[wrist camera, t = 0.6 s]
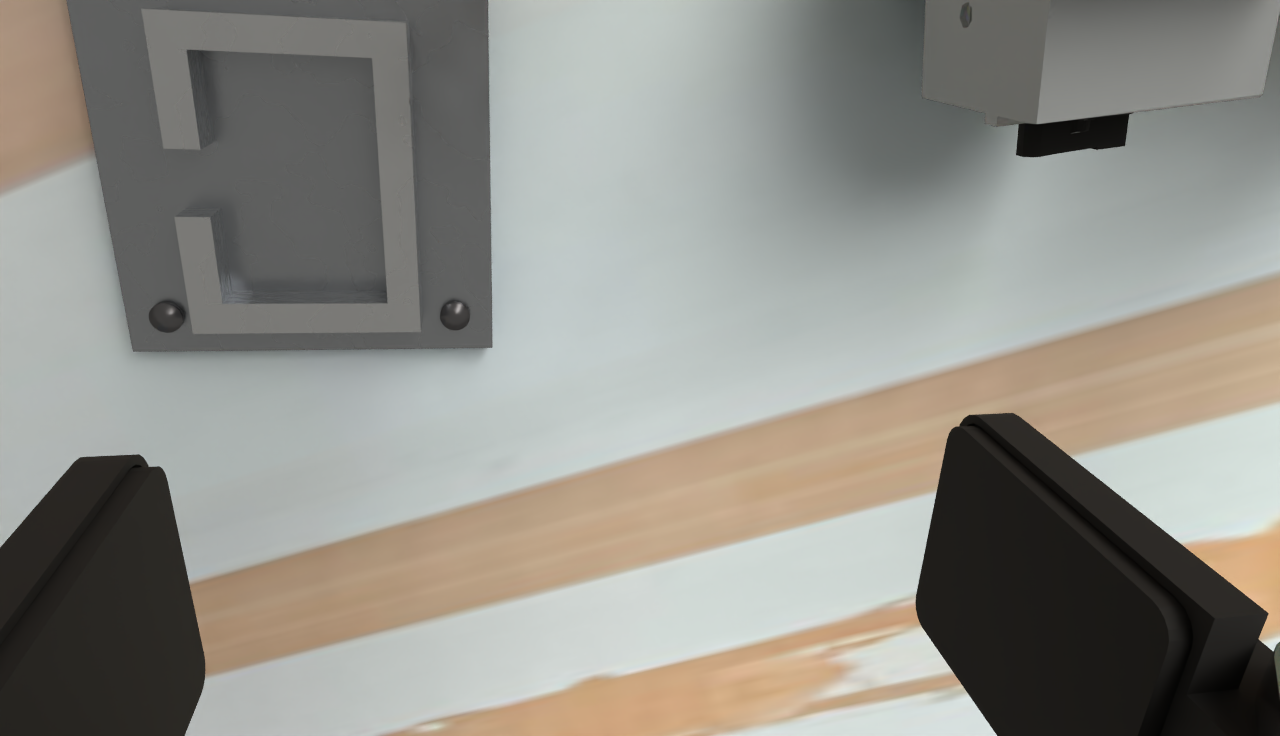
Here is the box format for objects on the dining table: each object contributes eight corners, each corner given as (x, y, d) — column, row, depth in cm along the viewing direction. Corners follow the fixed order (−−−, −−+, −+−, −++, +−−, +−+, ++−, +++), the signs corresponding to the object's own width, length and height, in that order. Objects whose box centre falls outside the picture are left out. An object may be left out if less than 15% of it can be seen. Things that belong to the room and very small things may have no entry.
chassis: (46, -175, 28) (8, -190, 26) (485, -137, 30) (486, -148, 28) (142, 342, 35) (118, 366, 33) (492, 338, 37) (492, 361, 35)
